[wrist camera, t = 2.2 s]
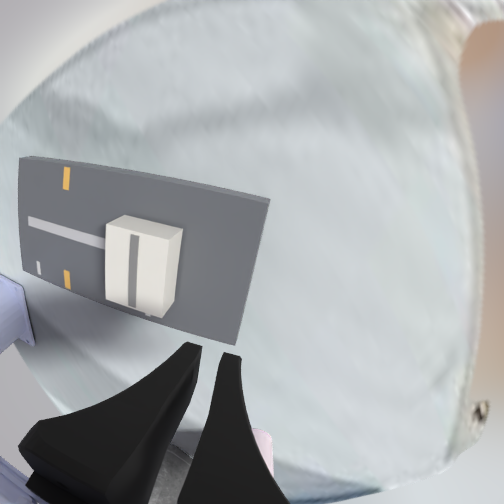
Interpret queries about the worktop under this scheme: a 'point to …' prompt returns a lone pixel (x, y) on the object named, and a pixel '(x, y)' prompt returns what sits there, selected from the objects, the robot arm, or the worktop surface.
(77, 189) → the console
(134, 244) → the fader knob
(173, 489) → the flask
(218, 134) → the worktop surface
